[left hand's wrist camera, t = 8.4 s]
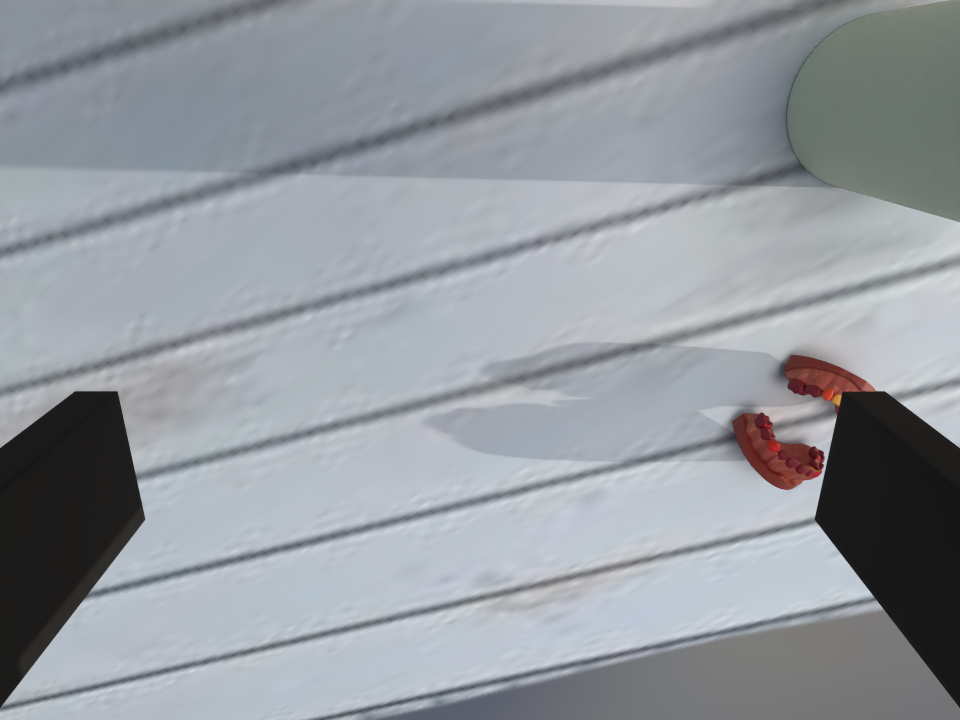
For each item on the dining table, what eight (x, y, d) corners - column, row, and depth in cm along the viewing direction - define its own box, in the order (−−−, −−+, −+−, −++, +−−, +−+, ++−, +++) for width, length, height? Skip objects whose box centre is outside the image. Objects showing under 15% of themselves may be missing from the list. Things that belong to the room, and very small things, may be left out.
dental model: (910, 413, 38) (810, 512, 41) (873, 383, 42) (784, 476, 45) (835, 361, 37) (738, 466, 40) (804, 335, 41) (717, 433, 44)
